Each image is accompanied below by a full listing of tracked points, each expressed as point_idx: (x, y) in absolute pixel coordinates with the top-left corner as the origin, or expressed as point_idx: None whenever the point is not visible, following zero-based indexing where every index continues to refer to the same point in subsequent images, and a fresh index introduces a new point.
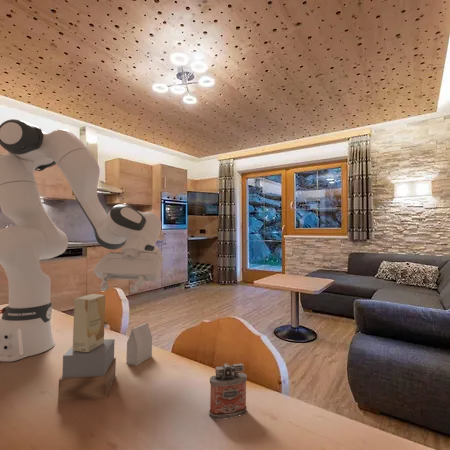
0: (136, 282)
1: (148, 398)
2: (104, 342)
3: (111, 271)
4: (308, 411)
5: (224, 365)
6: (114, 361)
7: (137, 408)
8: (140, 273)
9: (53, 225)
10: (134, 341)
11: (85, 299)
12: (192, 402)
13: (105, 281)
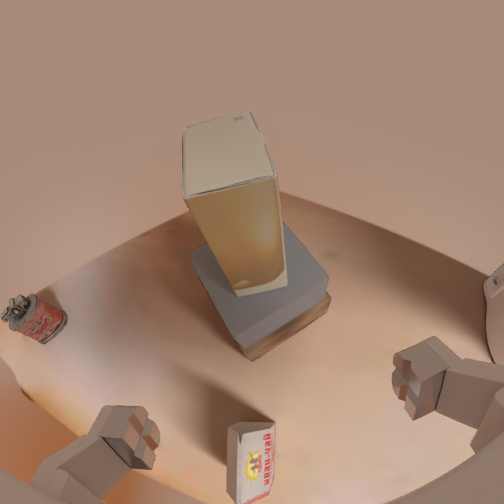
0: (87, 445)
1: (143, 321)
2: (241, 303)
3: (493, 457)
4: (6, 355)
5: (12, 303)
6: (236, 342)
7: (147, 293)
8: (25, 485)
9: None
10: (242, 434)
11: (203, 122)
12: (87, 335)
13: (468, 402)
